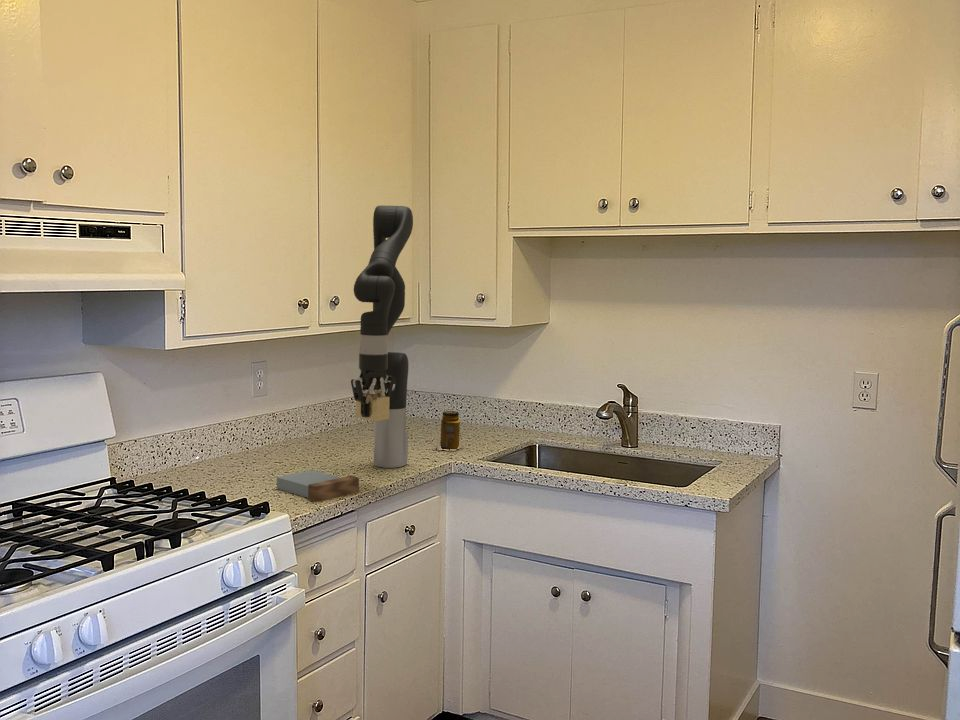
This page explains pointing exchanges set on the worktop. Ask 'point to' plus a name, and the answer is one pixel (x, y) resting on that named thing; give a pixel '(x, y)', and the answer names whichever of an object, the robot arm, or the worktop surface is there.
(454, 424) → the condiment
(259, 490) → the worktop surface
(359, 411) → the block
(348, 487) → the block
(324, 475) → the flat grey square tile
